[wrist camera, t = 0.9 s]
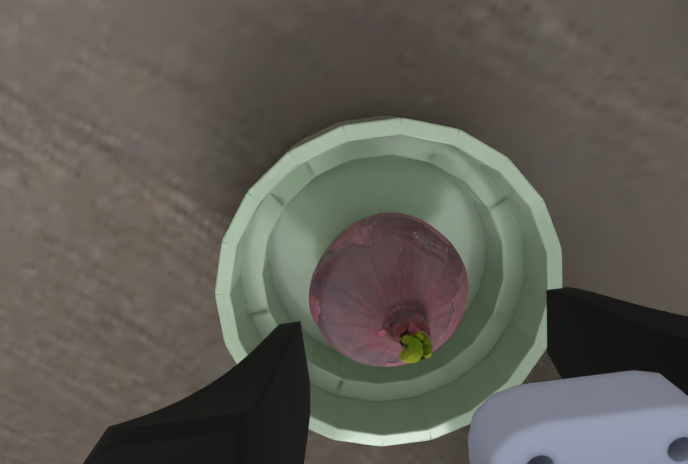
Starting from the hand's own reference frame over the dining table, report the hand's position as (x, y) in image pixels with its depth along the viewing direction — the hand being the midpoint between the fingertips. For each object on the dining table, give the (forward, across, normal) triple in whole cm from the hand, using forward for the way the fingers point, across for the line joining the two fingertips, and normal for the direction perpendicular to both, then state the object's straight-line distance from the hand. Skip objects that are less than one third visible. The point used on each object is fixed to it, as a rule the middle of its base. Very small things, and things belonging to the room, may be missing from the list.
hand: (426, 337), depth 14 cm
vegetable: (+9, 0, +1) cm, 9 cm away
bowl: (+10, 0, +1) cm, 10 cm away
